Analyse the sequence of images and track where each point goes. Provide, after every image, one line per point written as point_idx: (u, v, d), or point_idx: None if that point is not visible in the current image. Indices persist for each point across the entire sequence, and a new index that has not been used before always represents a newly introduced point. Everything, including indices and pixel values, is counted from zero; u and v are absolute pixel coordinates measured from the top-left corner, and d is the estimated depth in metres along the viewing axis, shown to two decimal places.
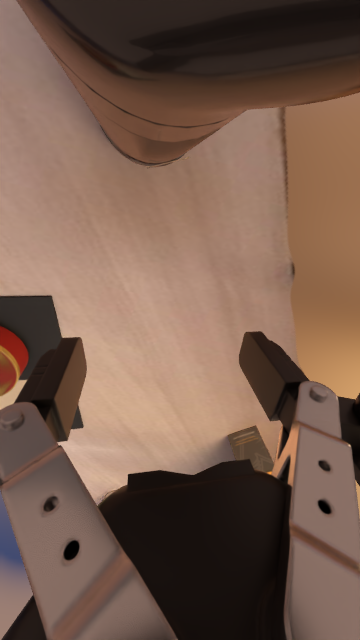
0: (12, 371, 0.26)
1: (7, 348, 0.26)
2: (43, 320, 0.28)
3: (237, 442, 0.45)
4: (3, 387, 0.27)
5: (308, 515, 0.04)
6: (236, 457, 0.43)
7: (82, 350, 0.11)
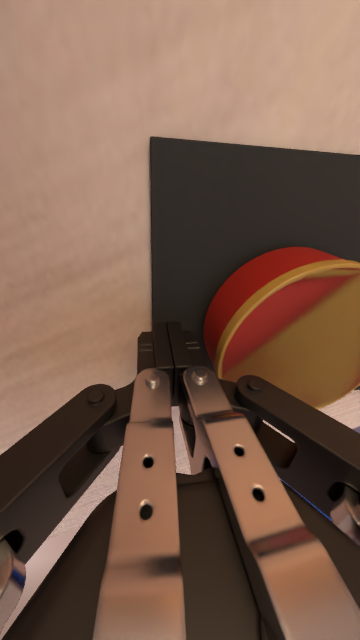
0: (354, 276, 0.09)
1: (283, 272, 0.10)
2: (220, 184, 0.10)
3: None
4: None
5: (254, 517, 0.04)
6: None
7: None
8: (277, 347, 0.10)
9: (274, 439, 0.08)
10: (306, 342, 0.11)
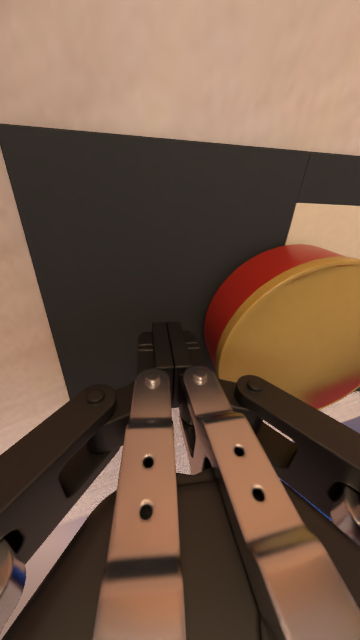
0: (357, 273, 0.09)
1: (284, 269, 0.09)
2: (90, 177, 0.09)
3: None
4: None
5: (254, 517, 0.04)
6: None
7: None
8: (279, 345, 0.10)
9: (274, 439, 0.08)
10: (307, 341, 0.10)
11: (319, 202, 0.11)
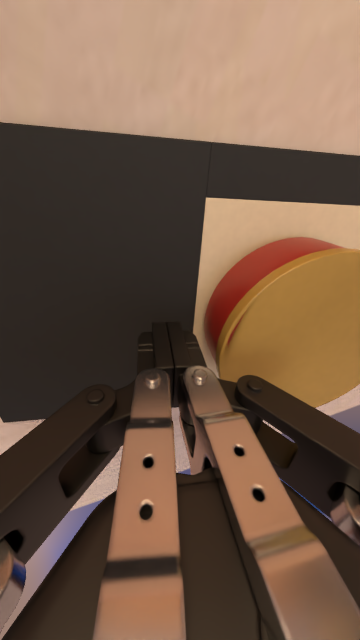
0: (359, 265, 0.09)
1: (285, 262, 0.09)
2: None
3: None
4: None
5: (254, 517, 0.04)
6: None
7: None
8: (280, 340, 0.10)
9: (274, 439, 0.08)
10: (309, 335, 0.10)
11: (231, 197, 0.11)
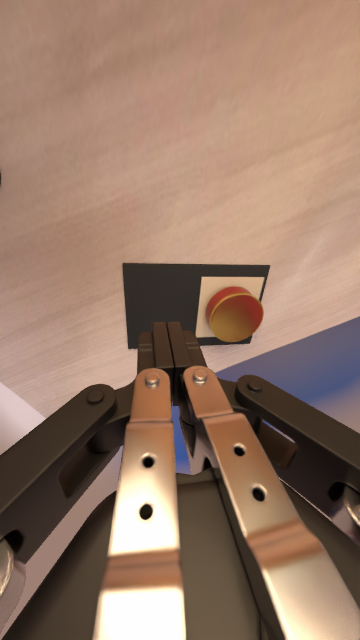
0: (244, 296, 0.36)
1: (226, 295, 0.36)
2: (143, 273, 0.36)
3: None
4: (255, 305, 0.37)
5: (254, 517, 0.04)
6: None
7: None
8: (226, 316, 0.37)
9: (274, 439, 0.08)
10: (234, 314, 0.38)
11: (209, 276, 0.38)
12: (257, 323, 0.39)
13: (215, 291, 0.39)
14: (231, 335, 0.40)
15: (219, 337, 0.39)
